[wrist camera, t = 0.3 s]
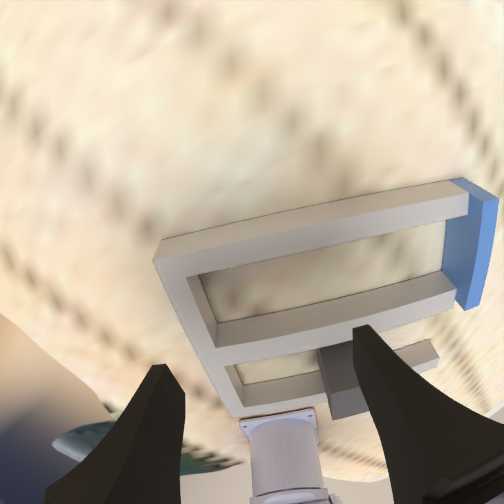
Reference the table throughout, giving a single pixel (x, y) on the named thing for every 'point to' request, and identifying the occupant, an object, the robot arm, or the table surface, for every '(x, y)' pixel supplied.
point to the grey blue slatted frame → (334, 311)
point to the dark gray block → (341, 380)
